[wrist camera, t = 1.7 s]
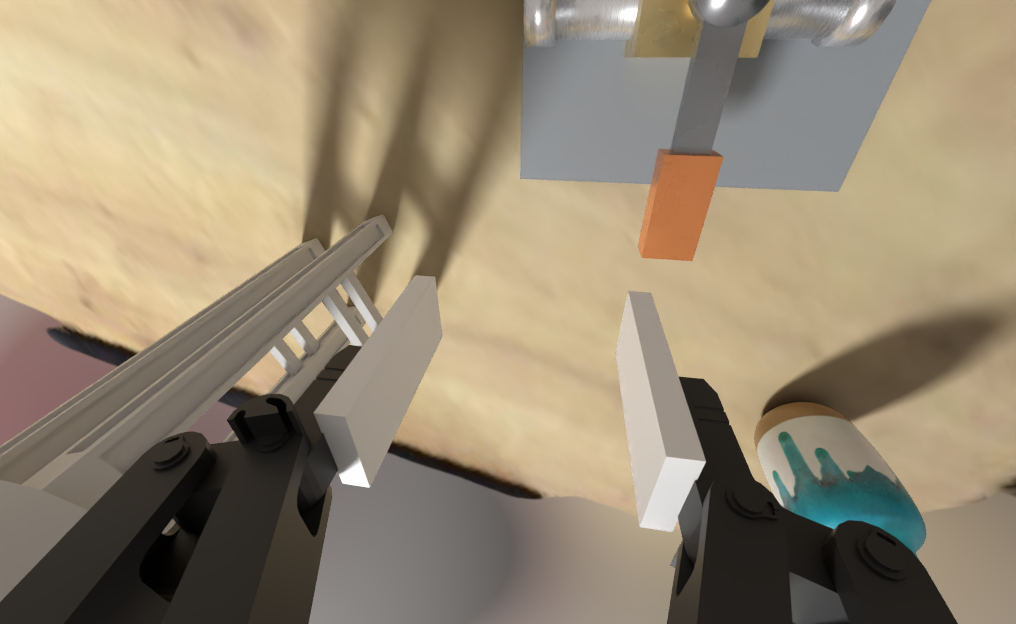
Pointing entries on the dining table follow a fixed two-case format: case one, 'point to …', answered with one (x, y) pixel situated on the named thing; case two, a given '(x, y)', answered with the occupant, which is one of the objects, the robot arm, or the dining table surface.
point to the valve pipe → (672, 28)
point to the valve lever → (695, 133)
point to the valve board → (745, 118)
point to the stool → (177, 390)
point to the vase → (833, 472)
